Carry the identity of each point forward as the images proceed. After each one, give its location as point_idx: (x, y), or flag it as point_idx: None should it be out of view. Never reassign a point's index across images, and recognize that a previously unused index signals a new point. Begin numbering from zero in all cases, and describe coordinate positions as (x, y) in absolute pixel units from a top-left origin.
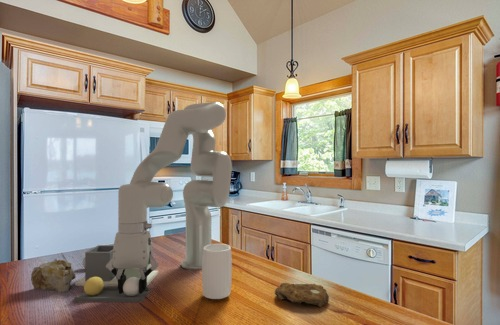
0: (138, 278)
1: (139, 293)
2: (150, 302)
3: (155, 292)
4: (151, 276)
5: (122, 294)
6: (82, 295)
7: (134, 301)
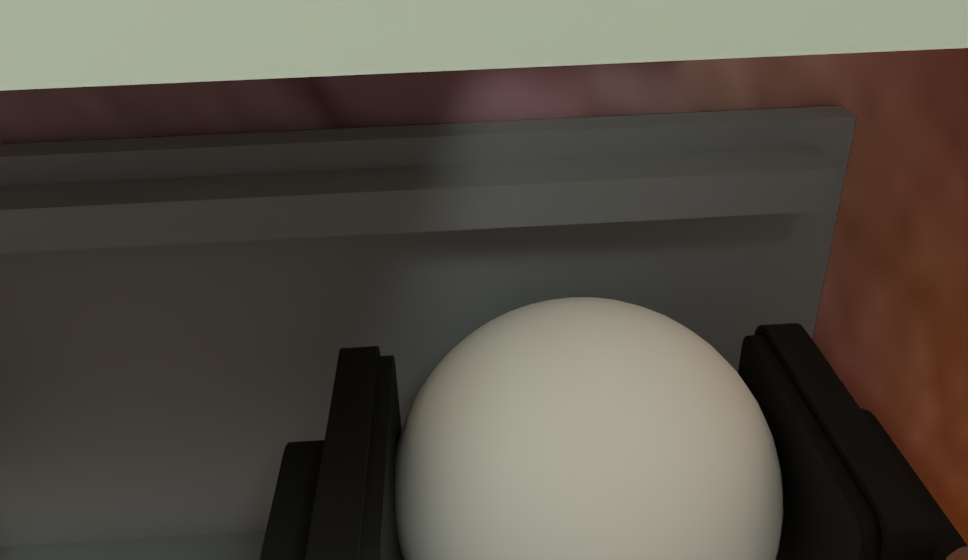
0: (729, 517)
1: (662, 305)
2: None
3: (933, 161)
4: None
5: None
6: None
7: None
